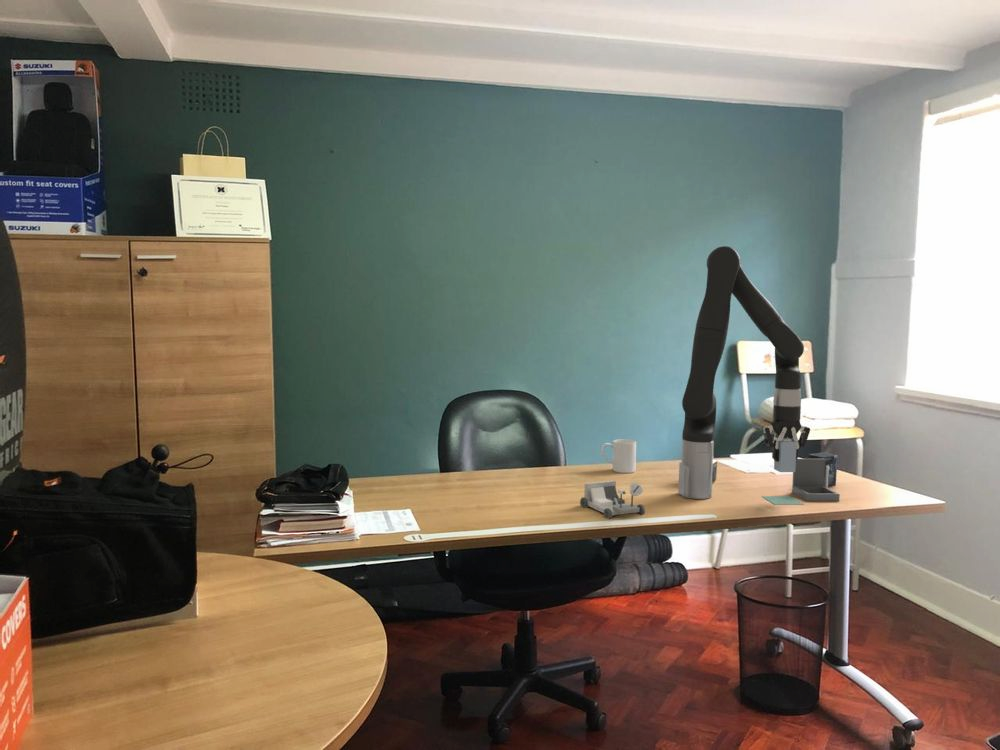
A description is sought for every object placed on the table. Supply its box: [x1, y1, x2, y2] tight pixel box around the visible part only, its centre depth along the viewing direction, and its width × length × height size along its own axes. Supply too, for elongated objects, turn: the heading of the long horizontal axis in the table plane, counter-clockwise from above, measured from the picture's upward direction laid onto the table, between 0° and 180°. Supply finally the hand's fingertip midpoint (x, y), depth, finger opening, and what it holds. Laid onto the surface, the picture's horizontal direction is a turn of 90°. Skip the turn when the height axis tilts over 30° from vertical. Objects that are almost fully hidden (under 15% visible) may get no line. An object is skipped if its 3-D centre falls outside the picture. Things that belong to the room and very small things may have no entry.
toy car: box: [579, 480, 646, 520], centre depth 207 cm, size 18×10×12 cm
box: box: [808, 451, 838, 488], centre depth 239 cm, size 8×6×11 cm
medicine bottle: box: [712, 447, 718, 485], centre depth 244 cm, size 7×7×12 cm
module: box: [773, 438, 797, 473], centre depth 219 cm, size 4×4×10 cm
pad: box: [761, 495, 805, 506], centre depth 220 cm, size 9×9×1 cm
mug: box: [601, 438, 637, 474], centre depth 258 cm, size 12×8×10 cm, turn 97°
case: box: [791, 458, 841, 502], centre depth 224 cm, size 11×11×11 cm
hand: (784, 460), depth 219 cm, fingers closed on module, 4 cm apart
